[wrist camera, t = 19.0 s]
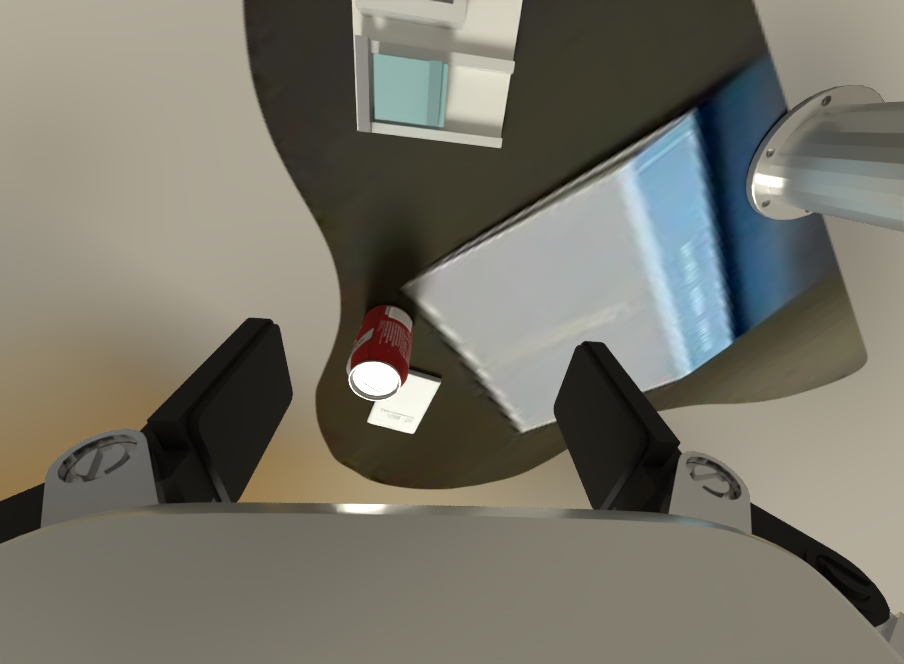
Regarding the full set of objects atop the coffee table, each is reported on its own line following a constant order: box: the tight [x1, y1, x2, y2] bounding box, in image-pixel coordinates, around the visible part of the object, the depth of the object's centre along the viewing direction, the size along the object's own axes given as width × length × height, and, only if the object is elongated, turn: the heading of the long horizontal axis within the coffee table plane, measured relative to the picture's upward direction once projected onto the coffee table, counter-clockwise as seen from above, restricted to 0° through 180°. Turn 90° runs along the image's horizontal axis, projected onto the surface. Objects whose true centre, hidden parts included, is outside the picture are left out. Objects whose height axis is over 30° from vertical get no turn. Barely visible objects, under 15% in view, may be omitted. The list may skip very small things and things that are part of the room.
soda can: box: [347, 305, 413, 401], centre depth 40 cm, size 7×7×12 cm
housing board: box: [352, 0, 523, 148], centre depth 27 cm, size 14×17×4 cm
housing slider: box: [374, 53, 448, 127], centre depth 28 cm, size 6×4×4 cm
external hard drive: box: [367, 369, 441, 433], centre depth 52 cm, size 2×8×12 cm
